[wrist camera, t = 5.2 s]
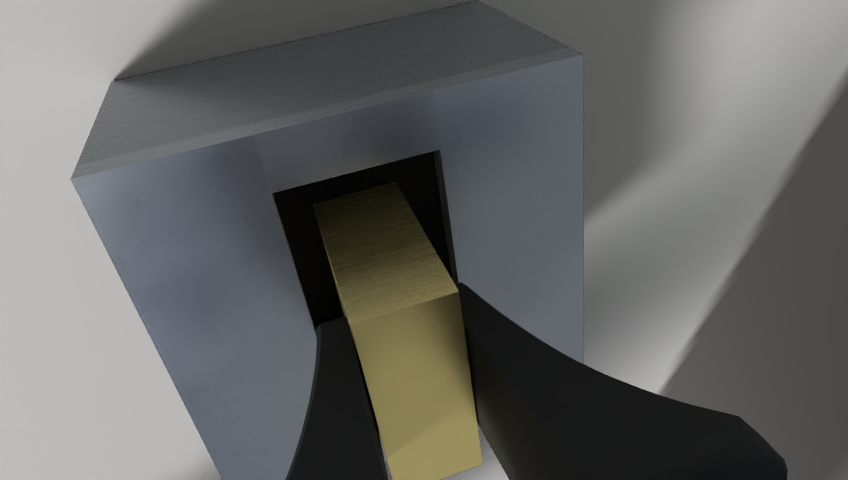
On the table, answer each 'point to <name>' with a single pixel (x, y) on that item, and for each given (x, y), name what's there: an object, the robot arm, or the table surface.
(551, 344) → the box
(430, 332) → the block
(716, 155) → the table surface
